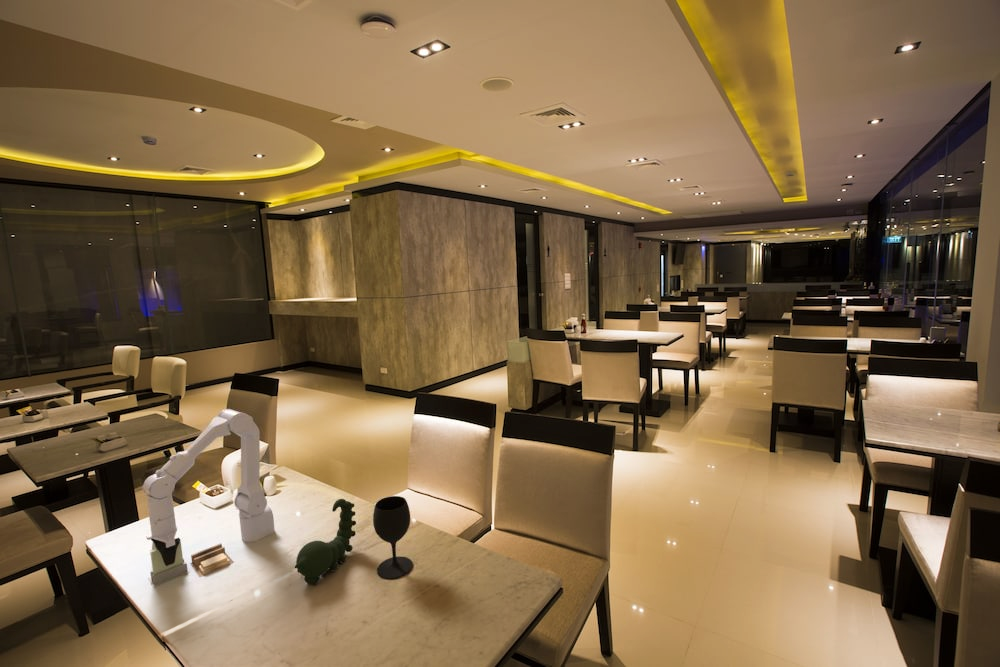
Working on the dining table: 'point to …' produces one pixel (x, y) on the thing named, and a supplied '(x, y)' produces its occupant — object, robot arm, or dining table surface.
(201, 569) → the lower pine offcut
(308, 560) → the toy figurine
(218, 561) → the upper pine offcut
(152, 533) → the robot arm
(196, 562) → the walnut rack
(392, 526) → the wine glass
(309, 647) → the dining table surface
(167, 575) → the slate stand
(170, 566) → the sage sheet
